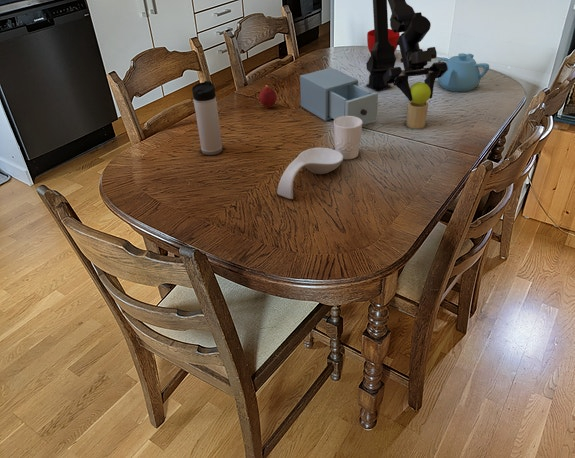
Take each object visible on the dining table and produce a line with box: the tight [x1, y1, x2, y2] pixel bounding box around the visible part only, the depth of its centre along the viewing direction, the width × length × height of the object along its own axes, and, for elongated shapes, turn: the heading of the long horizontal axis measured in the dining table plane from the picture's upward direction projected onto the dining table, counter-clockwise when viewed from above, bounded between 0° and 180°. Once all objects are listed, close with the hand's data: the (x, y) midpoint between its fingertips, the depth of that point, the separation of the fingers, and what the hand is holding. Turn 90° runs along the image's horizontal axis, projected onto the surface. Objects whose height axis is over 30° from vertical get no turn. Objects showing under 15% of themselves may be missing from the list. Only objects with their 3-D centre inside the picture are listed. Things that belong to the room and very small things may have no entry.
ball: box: [410, 81, 431, 104], centre depth 150 cm, size 6×6×6 cm
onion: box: [258, 84, 278, 109], centre depth 169 cm, size 6×6×8 cm
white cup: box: [333, 116, 363, 160], centre depth 140 cm, size 8×8×10 cm
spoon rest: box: [276, 147, 344, 200], centre depth 131 cm, size 24×12×7 cm, turn 146°
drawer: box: [328, 84, 379, 126], centre depth 157 cm, size 15×12×9 cm
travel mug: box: [191, 80, 224, 156], centre depth 142 cm, size 6×7×20 cm
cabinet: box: [299, 66, 359, 122], centre depth 166 cm, size 15×13×11 cm
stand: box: [405, 101, 429, 130], centre depth 155 cm, size 6×6×7 cm
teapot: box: [437, 52, 490, 93], centre depth 178 cm, size 15×17×11 cm
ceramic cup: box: [366, 28, 401, 54], centre depth 203 cm, size 13×17×10 cm
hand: (421, 99), depth 150 cm, fingers closed on ball, 6 cm apart
